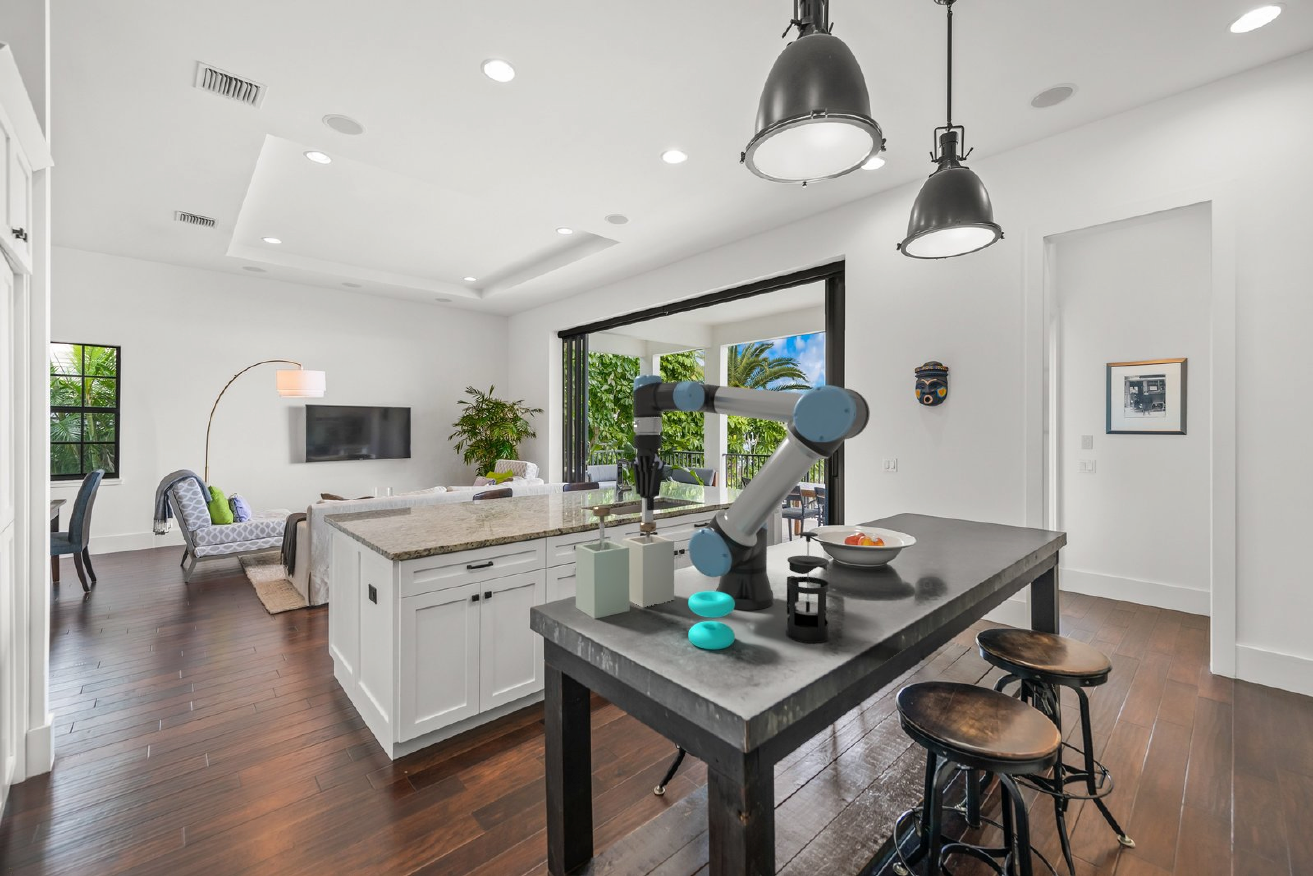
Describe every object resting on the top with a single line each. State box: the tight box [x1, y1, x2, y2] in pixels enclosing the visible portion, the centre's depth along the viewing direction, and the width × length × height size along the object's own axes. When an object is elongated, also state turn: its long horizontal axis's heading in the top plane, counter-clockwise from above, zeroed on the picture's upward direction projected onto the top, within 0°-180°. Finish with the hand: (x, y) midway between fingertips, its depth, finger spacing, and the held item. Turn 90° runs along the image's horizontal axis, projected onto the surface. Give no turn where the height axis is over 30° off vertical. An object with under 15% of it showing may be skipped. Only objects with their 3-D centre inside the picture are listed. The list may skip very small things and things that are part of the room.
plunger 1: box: [592, 505, 612, 551], centre depth 140 cm, size 7×7×13 cm
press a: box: [621, 534, 675, 608], centre depth 148 cm, size 10×10×16 cm
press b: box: [574, 540, 631, 620], centre depth 140 cm, size 10×10×16 cm
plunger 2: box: [639, 521, 657, 544], centre depth 148 cm, size 7×7×13 cm
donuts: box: [687, 590, 736, 650], centre depth 119 cm, size 10×10×10 cm
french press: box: [785, 531, 831, 645], centre depth 123 cm, size 12×9×23 cm
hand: (647, 521), depth 148 cm, fingers closed
